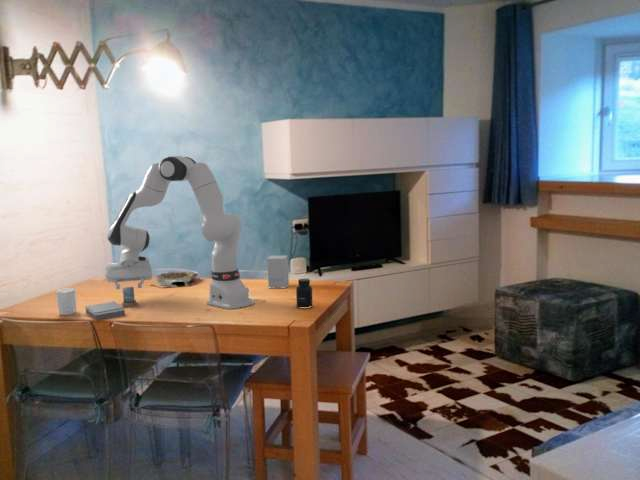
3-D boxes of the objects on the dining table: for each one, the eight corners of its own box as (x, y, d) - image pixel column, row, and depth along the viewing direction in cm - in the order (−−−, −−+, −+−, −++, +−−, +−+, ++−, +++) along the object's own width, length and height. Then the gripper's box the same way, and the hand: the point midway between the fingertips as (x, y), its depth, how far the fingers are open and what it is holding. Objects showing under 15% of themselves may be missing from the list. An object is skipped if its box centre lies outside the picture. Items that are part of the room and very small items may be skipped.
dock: (125, 314, 249) (124, 307, 249) (95, 320, 242) (94, 312, 242) (114, 308, 261) (113, 301, 260) (85, 313, 254) (85, 306, 253)
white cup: (71, 309, 260) (69, 287, 259) (81, 312, 255) (79, 289, 254) (54, 313, 254) (52, 290, 253) (63, 316, 249) (61, 293, 248)
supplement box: (289, 284, 297) (288, 255, 295) (286, 288, 288) (285, 258, 286) (271, 284, 298) (270, 255, 296) (268, 288, 289) (266, 258, 287)
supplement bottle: (298, 309, 248) (297, 281, 247) (295, 305, 255) (294, 278, 253) (314, 308, 250) (313, 280, 248) (310, 304, 257) (309, 277, 255)
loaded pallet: (124, 303, 268) (123, 286, 267) (136, 302, 269) (134, 286, 268) (122, 307, 262) (121, 290, 260) (134, 306, 262) (133, 289, 261)
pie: (141, 283, 312) (140, 274, 311) (187, 275, 330) (187, 267, 329) (166, 291, 291) (166, 281, 290) (214, 283, 309) (214, 273, 308)
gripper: (105, 260, 271) (103, 285, 263) (151, 257, 275) (151, 282, 267) (107, 268, 276) (105, 293, 268) (152, 265, 280) (152, 290, 272)
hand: (128, 287), depth 267 cm, fingers open, 8 cm apart
